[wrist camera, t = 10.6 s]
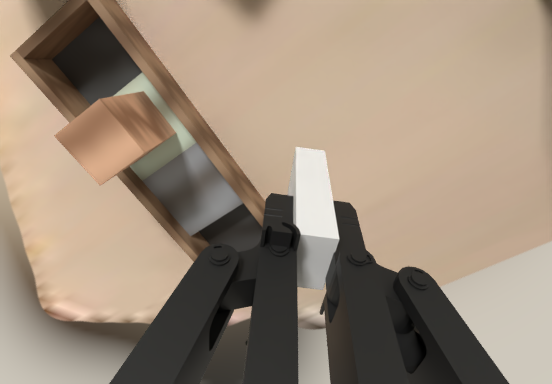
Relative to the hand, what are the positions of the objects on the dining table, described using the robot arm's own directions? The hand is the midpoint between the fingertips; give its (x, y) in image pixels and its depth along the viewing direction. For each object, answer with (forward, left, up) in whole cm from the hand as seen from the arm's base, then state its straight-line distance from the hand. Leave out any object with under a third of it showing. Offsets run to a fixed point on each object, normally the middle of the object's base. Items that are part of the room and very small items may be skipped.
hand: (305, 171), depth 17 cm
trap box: (+11, +12, -26) cm, 31 cm away
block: (+16, +10, -23) cm, 30 cm away
